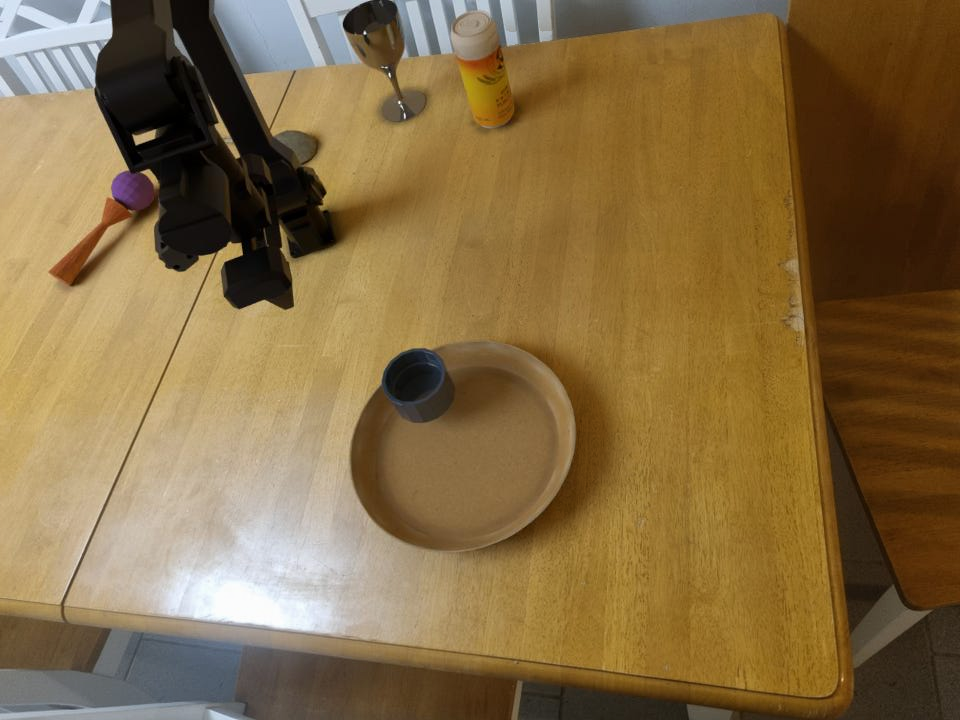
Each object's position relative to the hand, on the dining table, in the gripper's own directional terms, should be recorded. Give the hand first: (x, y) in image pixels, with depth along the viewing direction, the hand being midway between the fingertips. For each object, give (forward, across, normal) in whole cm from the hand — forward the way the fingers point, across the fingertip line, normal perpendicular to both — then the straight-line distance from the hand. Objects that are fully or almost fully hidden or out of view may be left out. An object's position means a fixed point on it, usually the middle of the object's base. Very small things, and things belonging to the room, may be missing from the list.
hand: (283, 277), depth 82 cm
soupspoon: (+13, -41, -4) cm, 43 cm away
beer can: (+12, -27, +31) cm, 43 cm away
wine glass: (+13, -37, +20) cm, 44 cm away
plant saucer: (+11, +23, +12) cm, 28 cm away
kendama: (+12, -33, -29) cm, 46 cm away
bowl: (+8, +16, +10) cm, 21 cm away
